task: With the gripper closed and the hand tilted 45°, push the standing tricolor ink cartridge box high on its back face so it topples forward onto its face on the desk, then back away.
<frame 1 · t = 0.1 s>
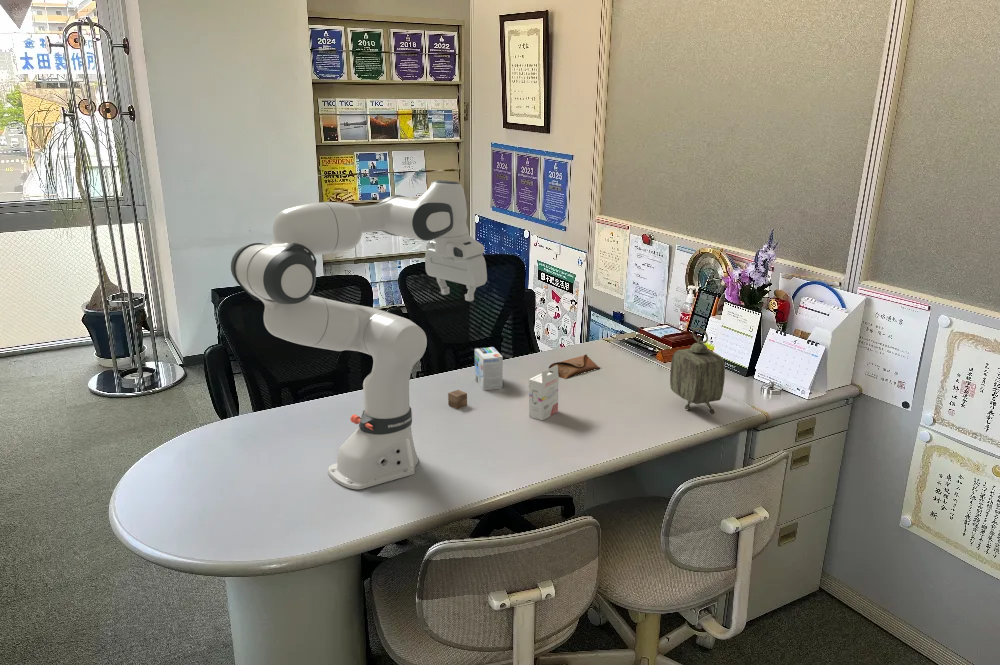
hand: (457, 297, 186), 39 cm above the table, tool pointing down, fingers open, 8 cm apart
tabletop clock: (692, 409, 215), on the table
sunglasses case: (575, 372, 247), on the table
ink cartridge box: (543, 414, 211), on the table
walnut block: (457, 405, 217), on the table
light bulb box: (488, 384, 235), on the table
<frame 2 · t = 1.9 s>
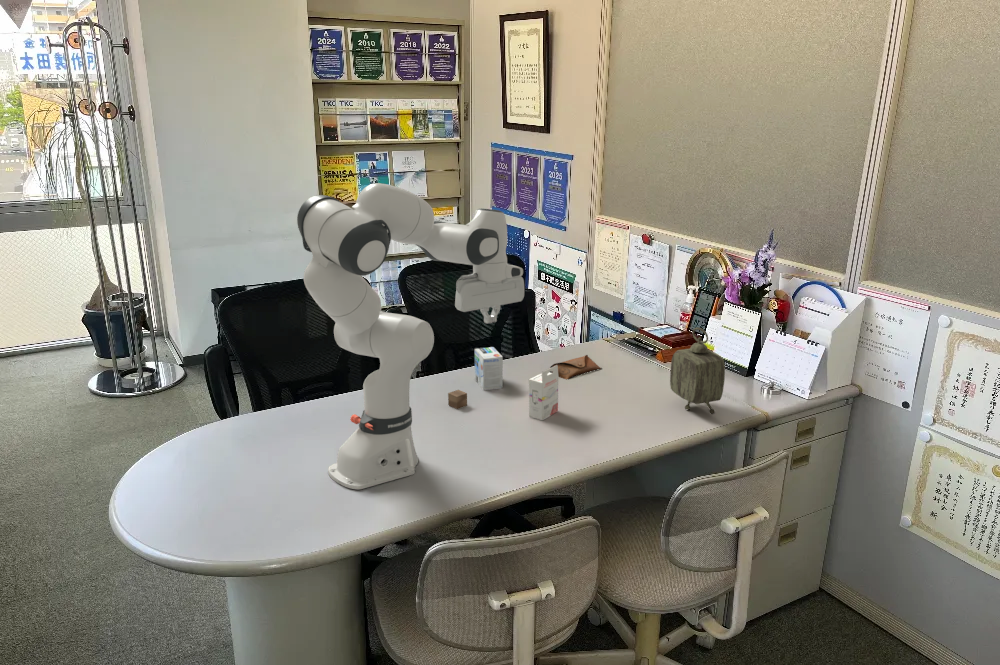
hand: (490, 322, 191), 31 cm above the table, tool pointing down, fingers closed
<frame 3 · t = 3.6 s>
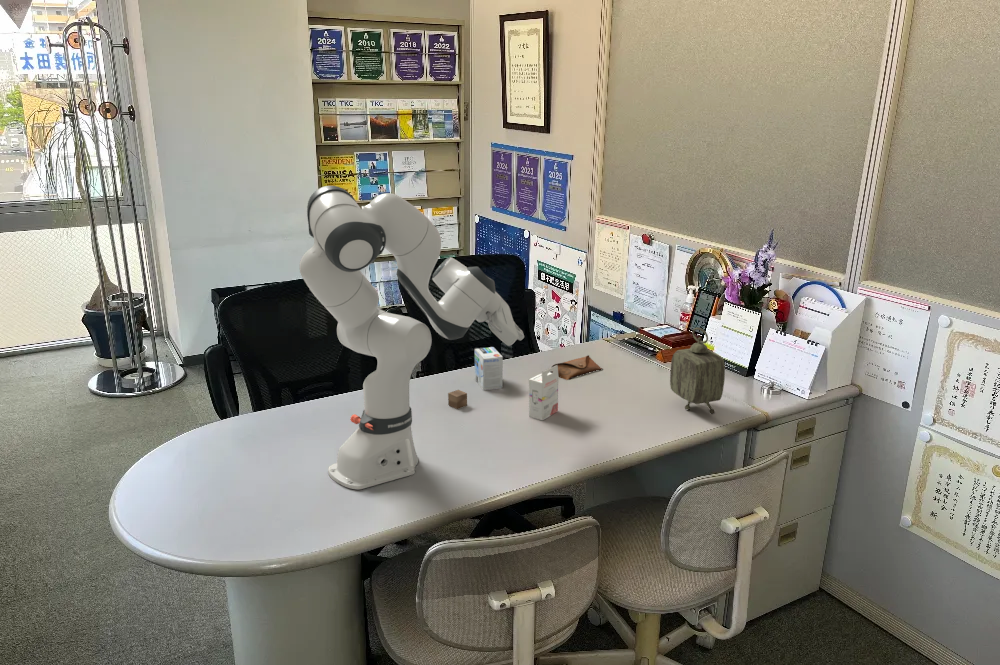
hand: (521, 336, 193), 27 cm above the table, tool tilted 45°, fingers closed
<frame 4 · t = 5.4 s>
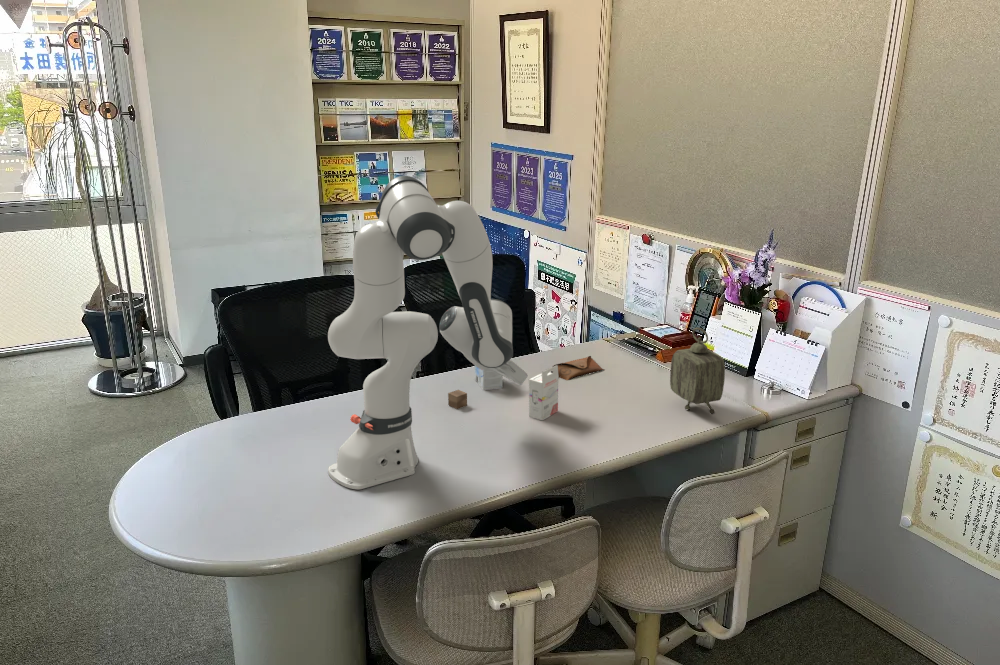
hand: (514, 378, 199), 14 cm above the table, tool tilted 45°, fingers closed
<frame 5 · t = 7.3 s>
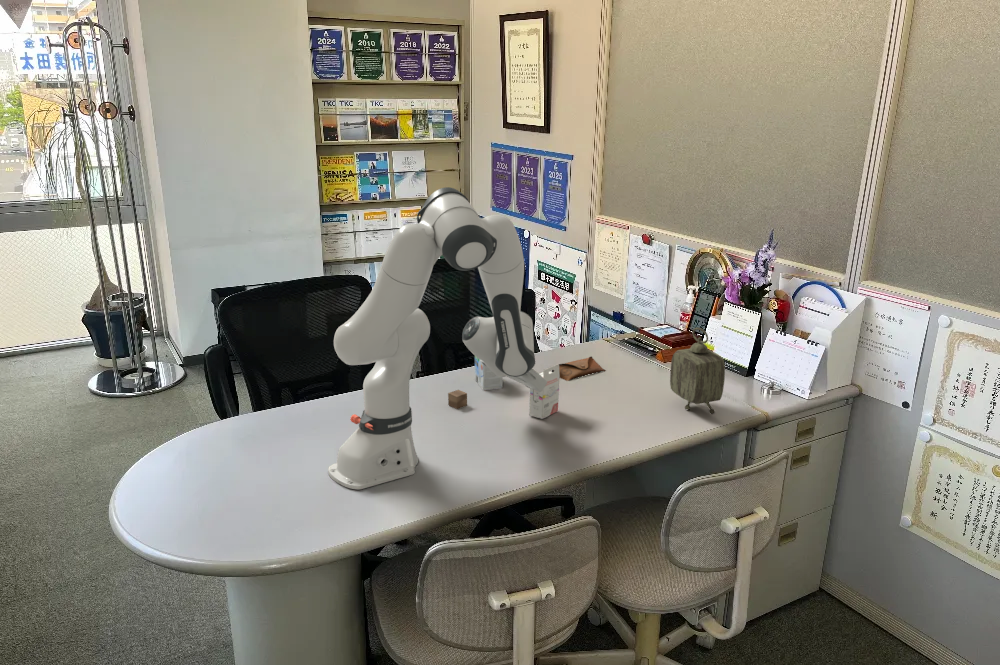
hand: (531, 386, 205), 10 cm above the table, tool tilted 45°, fingers closed
ink cartridge box: (543, 414, 211), on the table, touching gripper
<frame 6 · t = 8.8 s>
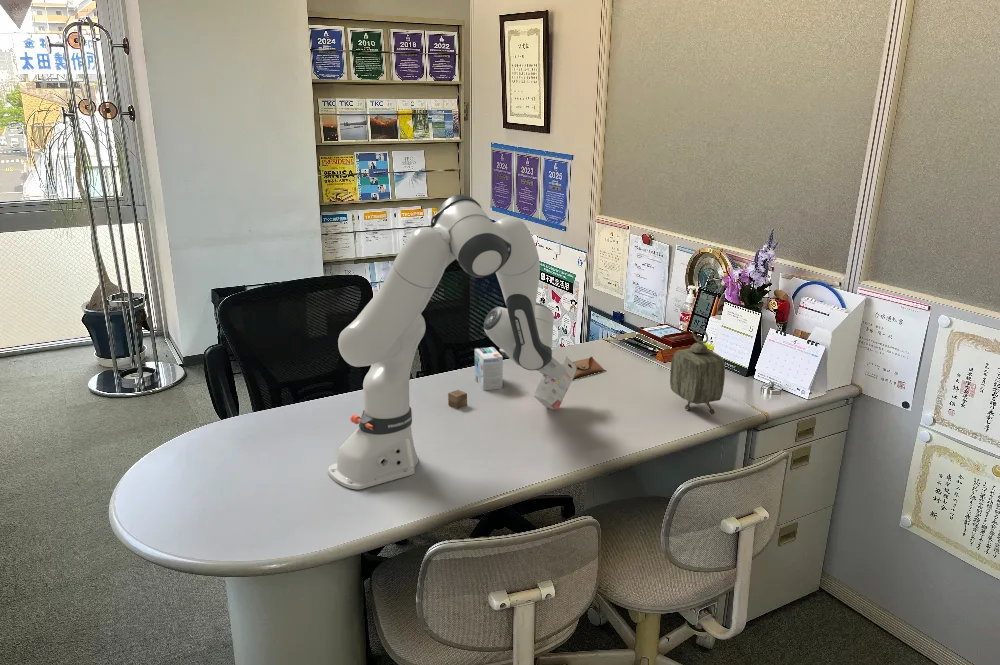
hand: (549, 374, 210), 11 cm above the table, tool tilted 45°, fingers closed
ink cartridge box: (544, 404, 211), point 3 cm above the table, touching gripper
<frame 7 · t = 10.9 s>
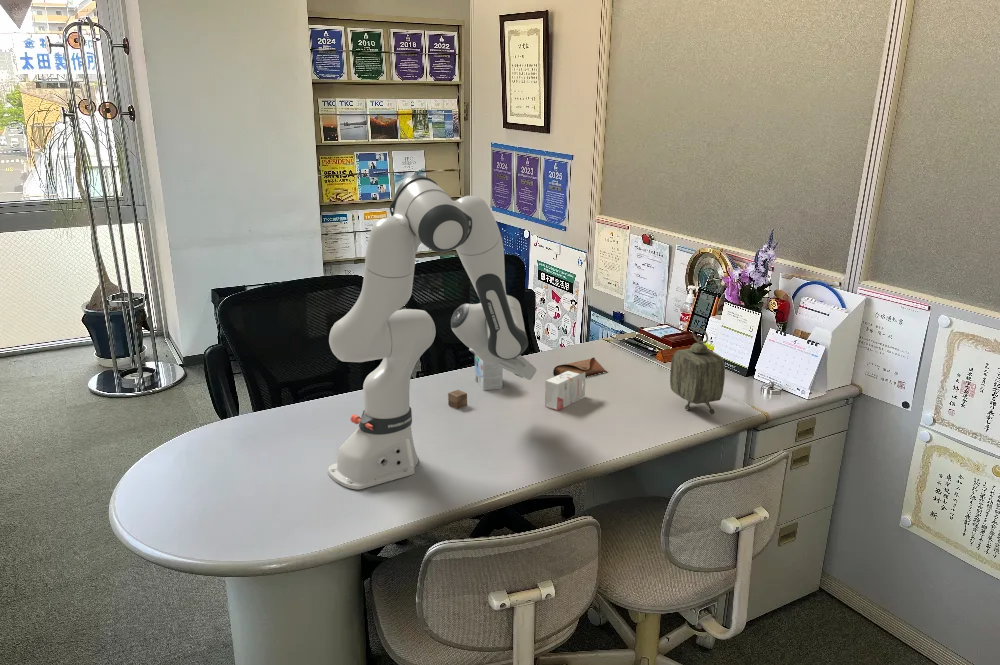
hand: (521, 374, 203), 14 cm above the table, tool tilted 45°, fingers closed
ink cartridge box: (550, 395, 213), point 4 cm above the table
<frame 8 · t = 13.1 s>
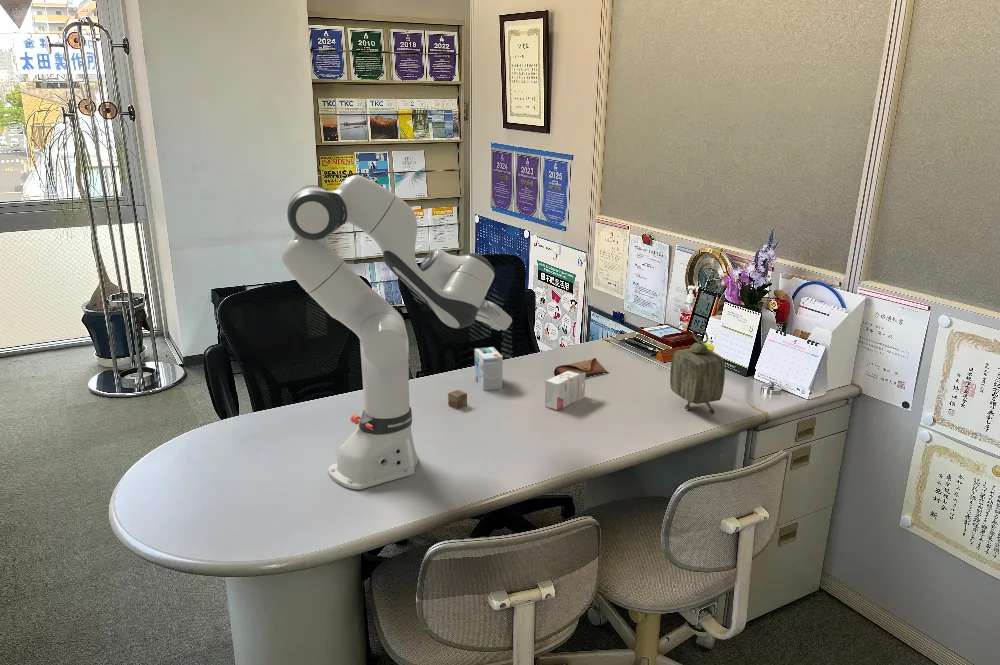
hand: (497, 327, 193), 29 cm above the table, tool tilted 45°, fingers closed
at the end: ink cartridge box tilted 91°; ink cartridge box inside the target area (1.7 cm from its centre), point 4.4 cm above the table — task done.
